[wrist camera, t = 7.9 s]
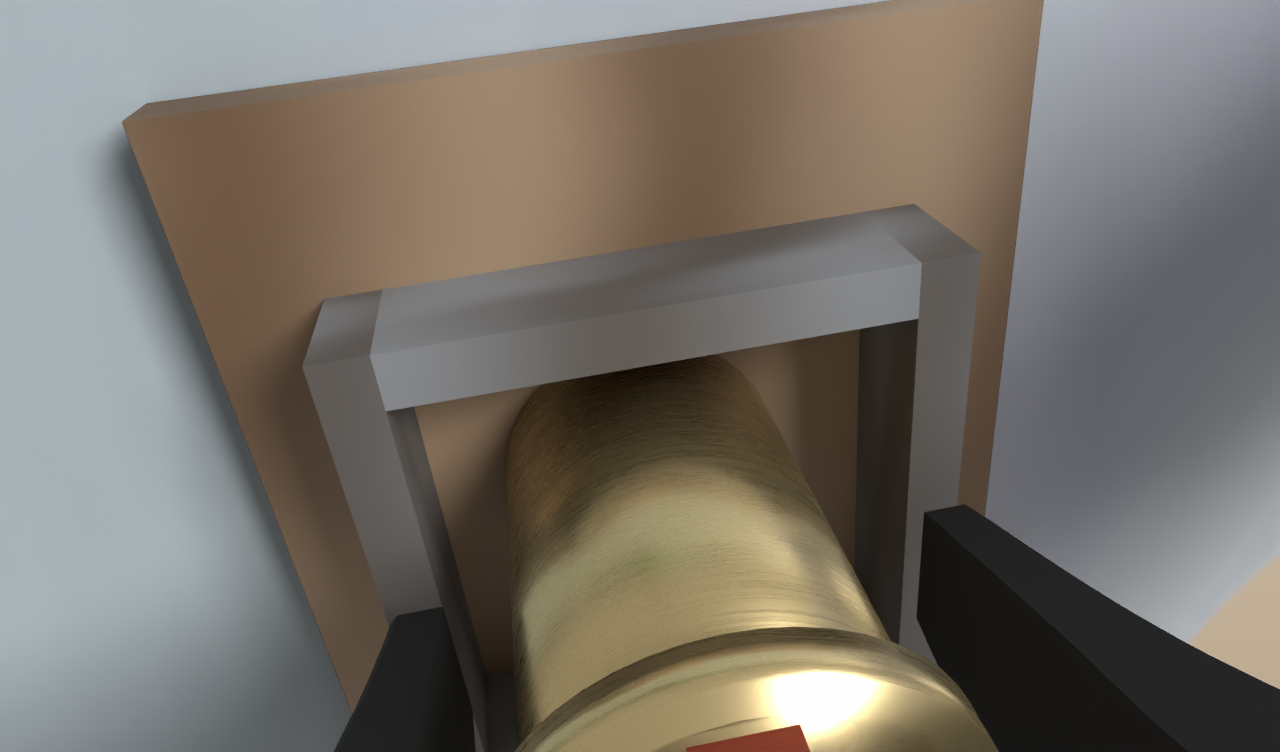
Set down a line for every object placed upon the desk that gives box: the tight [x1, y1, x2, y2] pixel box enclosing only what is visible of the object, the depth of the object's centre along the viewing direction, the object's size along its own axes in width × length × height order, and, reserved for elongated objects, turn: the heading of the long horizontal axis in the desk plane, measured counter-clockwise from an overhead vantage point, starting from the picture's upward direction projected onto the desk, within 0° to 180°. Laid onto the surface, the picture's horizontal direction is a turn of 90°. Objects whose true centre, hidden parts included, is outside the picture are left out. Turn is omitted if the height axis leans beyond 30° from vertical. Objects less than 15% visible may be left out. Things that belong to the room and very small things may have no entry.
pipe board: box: [122, 0, 1044, 752], centre depth 15 cm, size 12×16×3 cm
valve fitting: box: [505, 354, 999, 752], centre depth 11 cm, size 5×5×8 cm
